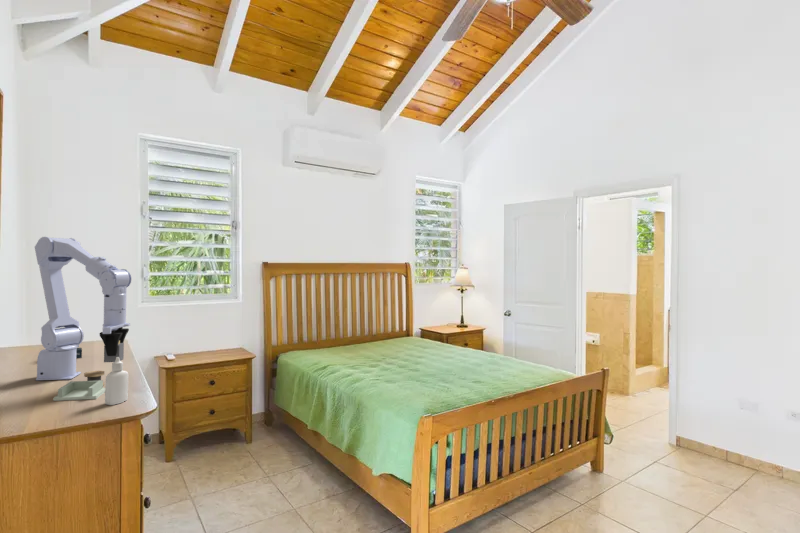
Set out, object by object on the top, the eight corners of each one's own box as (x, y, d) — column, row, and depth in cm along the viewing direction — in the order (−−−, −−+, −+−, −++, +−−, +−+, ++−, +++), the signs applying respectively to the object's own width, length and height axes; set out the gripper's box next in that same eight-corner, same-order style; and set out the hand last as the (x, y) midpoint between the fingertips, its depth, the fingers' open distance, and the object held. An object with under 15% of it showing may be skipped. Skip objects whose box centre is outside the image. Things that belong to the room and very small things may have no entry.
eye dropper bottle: (102, 402, 120) (103, 357, 120) (125, 398, 125) (127, 354, 124) (106, 406, 117) (107, 360, 117) (130, 402, 122) (132, 357, 121)
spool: (80, 388, 132) (81, 375, 132) (87, 384, 137) (88, 370, 136) (100, 388, 133) (100, 374, 133) (106, 383, 138) (106, 370, 138)
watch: (63, 360, 165) (64, 330, 165) (63, 356, 172) (64, 327, 171) (82, 358, 168) (82, 329, 168) (81, 354, 175) (82, 326, 175)
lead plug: (103, 362, 135) (104, 342, 135) (108, 359, 139) (109, 339, 139) (119, 361, 136) (119, 342, 136) (123, 359, 140) (123, 339, 140)
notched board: (53, 400, 120) (53, 389, 120) (66, 392, 128) (66, 381, 128) (96, 398, 123) (96, 387, 123) (106, 390, 131) (107, 380, 131)
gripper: (122, 311, 131) (121, 358, 132) (136, 306, 145) (135, 349, 145) (94, 312, 129) (93, 359, 130) (111, 307, 143) (110, 349, 144)
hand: (114, 354), depth 137 cm, fingers closed on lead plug, 4 cm apart
